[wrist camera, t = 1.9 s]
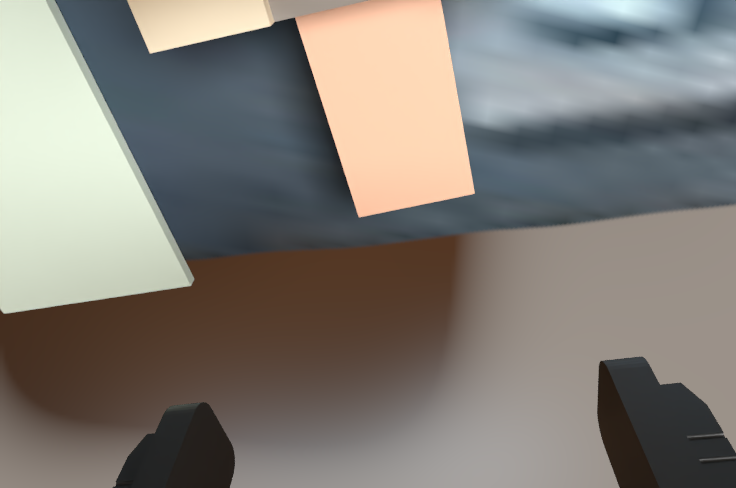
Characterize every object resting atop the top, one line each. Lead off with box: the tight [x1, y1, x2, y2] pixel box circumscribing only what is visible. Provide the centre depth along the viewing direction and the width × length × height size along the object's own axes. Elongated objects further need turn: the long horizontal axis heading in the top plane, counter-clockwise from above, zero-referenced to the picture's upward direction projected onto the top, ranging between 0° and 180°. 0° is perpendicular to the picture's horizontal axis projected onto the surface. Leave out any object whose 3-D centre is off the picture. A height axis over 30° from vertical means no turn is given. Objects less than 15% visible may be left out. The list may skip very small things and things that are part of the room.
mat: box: [0, 0, 194, 314], centre depth 26 cm, size 16×12×1 cm
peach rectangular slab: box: [295, 0, 475, 217], centre depth 21 cm, size 13×5×4 cm, turn 15°
